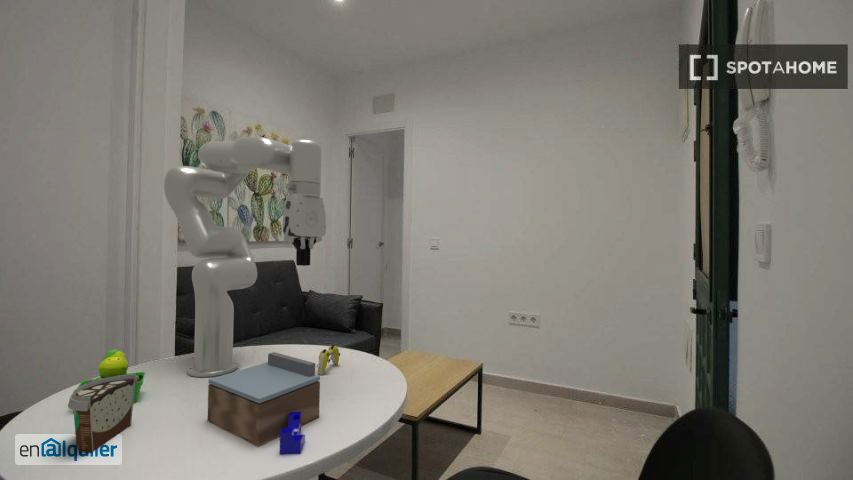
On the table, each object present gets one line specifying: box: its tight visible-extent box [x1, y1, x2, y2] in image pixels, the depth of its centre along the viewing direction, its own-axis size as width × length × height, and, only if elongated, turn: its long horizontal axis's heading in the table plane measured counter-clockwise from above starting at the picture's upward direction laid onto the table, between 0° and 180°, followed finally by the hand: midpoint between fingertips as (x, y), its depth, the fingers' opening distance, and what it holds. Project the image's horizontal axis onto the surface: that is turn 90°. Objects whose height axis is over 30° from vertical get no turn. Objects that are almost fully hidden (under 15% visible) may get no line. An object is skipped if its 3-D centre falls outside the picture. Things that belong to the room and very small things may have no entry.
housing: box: [207, 380, 321, 448], centre depth 77 cm, size 17×14×8 cm
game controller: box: [316, 344, 341, 375], centre depth 108 cm, size 10×4×6 cm, turn 169°
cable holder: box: [279, 412, 306, 456], centre depth 69 cm, size 8×4×4 cm, turn 7°
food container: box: [67, 374, 137, 453], centre depth 68 cm, size 12×6×10 cm, turn 5°
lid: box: [208, 351, 321, 403], centre depth 77 cm, size 17×14×3 cm
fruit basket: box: [76, 349, 146, 404], centre depth 84 cm, size 11×9×11 cm
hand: (303, 265), depth 93 cm, fingers closed
